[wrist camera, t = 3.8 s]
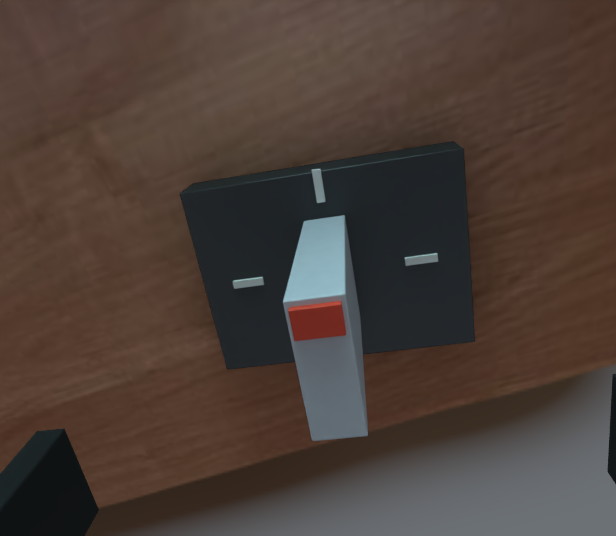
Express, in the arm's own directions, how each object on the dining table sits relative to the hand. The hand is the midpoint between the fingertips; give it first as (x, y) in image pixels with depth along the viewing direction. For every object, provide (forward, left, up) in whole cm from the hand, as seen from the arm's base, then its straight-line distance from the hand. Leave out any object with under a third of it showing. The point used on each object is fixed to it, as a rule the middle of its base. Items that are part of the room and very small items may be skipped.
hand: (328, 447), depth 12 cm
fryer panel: (0, 0, -13) cm, 13 cm away
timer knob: (0, 0, -11) cm, 11 cm away
